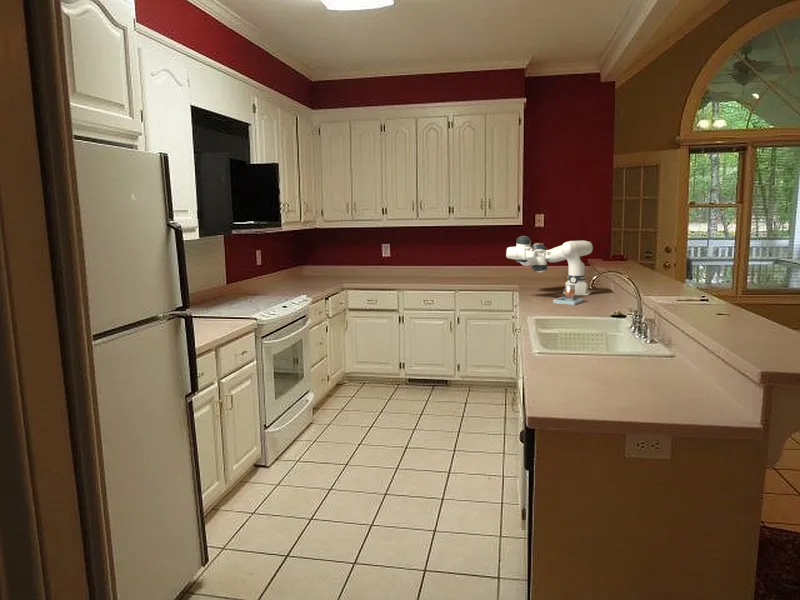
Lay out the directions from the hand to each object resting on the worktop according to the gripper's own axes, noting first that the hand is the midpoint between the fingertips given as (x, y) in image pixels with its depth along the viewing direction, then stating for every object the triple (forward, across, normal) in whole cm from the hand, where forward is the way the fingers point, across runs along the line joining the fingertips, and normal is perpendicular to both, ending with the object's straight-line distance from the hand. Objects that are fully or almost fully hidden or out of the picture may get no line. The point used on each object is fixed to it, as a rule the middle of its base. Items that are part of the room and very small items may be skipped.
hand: (547, 253), depth 385 cm
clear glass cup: (+17, +2, -31) cm, 35 cm away
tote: (+17, +5, -32) cm, 36 cm away
